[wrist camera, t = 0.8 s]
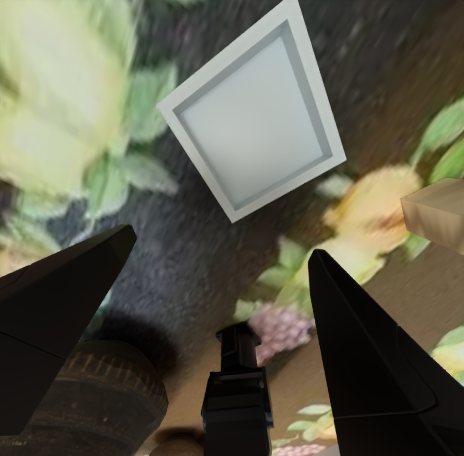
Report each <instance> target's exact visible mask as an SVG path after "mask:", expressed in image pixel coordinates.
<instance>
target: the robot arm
mask: <svg viewBox="0 0 464 456" xmlns="http://www.w3.org/2000/svg"><path fill="white" fill-rule="evenodd" d="M136 240H137V236H136V234H135V232H134V230H133V228H132V226H131V225H129V224H120V225H118V226H116V227H113V228H111V229H109V230H107V231H104V232H102V233H100V234H98V235H95V236H93V237H91V238H89V239H86V240H84V241H82V242H80V243H77V244H75V245H73V246H71V247H68V248H66V249H64V250H61V251H59V252H57V253H55V254H52V255H50V256H48V257H46V258H43V259H41V260H39V261H37V262H34V263H32V264H31V265H28V266H25V267H23V268H21V269H19V270H16V271H14V272H12V273H9V274H7V275H5V276H2V277H0V437H2V436H19V435H20V434H21V433H22V431H23V430H24V428H25V427H26V425H27V424H28V422H29V420H30V419H31V417H32V416H33V414H34V412H35V411H36V409H37V407H38V406H39V404H40V402H41V401H42V399H43V398H44V396H45V394H46V393H47V391H48V389H49V388H50V386H51V385H52V383H53V381H54V380H55V378H56V376H57V375H58V373H59V372H60V370H61V368H62V367H63V365H64V363H65V362H66V359H67V358H68V357H69V355H70V353H71V352H72V350H73V348H74V347H75V345H76V344H77V342H78V340H79V339H80V337H81V335H82V334H83V332H84V331H85V329H86V327H87V326H88V324H89V322H90V321H91V319H92V318H93V316H94V314H95V313H96V311H97V309H98V308H99V306H100V305H101V303H102V301H103V300H104V298H105V296H106V295H107V293H108V291H109V290H110V288H111V287H112V285H113V283H114V282H115V280H116V278H117V277H118V275H119V274H120V272H121V270H122V269H123V267H124V265H125V263H126V261H127V259H128V257H129V255H130V253H131V251H132V249H133V246H134V244H135V242H136ZM308 272H309V287H310V297H311V303H312V308H313V313H314V319H315V324H316V329H317V334H318V340H319V345H320V350H321V356H322V361H323V366H324V371H325V377H326V382H327V387H328V392H329V398H330V403H331V408H332V413H333V418H334V425H335V430H336V435H337V441H338V445H339V451H340V456H464V387H463V386H462V385H461V384H460V383H459V382H458V381H456V380H455V379H454V378H453V377H452V376H451V375H450V374H449V373H448V372H447V371H446V370H445V369H443V368H442V367H441V366H440V365H439V364H438V363H437V362H436V361H435V360H434V359H433V358H432V357H431V356H430V355H429V354H428V353H427V352H426V351H424V350H423V349H422V348H421V347H420V346H419V345H418V344H417V343H416V342H415V341H414V340H413V339H412V338H411V337H410V336H409V335H408V334H407V333H406V332H405V331H404V330H403V329H402V328H401V327H400V326H398V324H397V323H396V322H395V321H394V320H393V319H392V318H391V317H390V316H389V314H388V313H387V312H386V311H385V310H384V309H383V308H382V307H381V306H380V305H379V304H378V303H377V302H376V301H375V300H374V299H373V298H372V297H371V296H370V295H369V294H368V293H367V292H366V291H365V290H364V289H363V288H362V287H361V286H360V285H359V284H358V283H357V282H356V281H355V280H354V279H353V278H352V277H351V276H350V275H349V274H348V273H347V272H346V271H345V270H344V269H343V268H342V267H341V266H340V265H339V264H338V263H337V262H336V261H335V260H334V259H333V258H332V257H331V256H330V255H329V254H328V253H327V252H326V251H325V250H323V249H314V250H313V252H312V254H311V256H310V258H309V261H308ZM216 338H217V339H218V340H219V341H220V342H221V343H222V345H221V371H220V372H214V371H213V372H210V376H209V378H208V383H207V387H206V392H205V396H204V401H203V405H202V409H201V416H202V418H203V428H204V432H205V446H204V456H271V455H272V445H271V437H270V429H269V428H274V420H273V411H272V402H271V396H270V389H269V383H268V378H267V373H266V369H265V366H262V367H257V359H256V350H255V347H256V346H258V345H261V344H262V342H261V340H260V338H259V337H258V336H257V335H256V334H255V332H254V331H253V330H252V329H251V328H250V326H249V325H248V324H247V323H246V322H243V323H240V324H238V325H235V326H233V327H230V328H228V329H225V330H223V331H220V332H218V333H216Z"/></svg>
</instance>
